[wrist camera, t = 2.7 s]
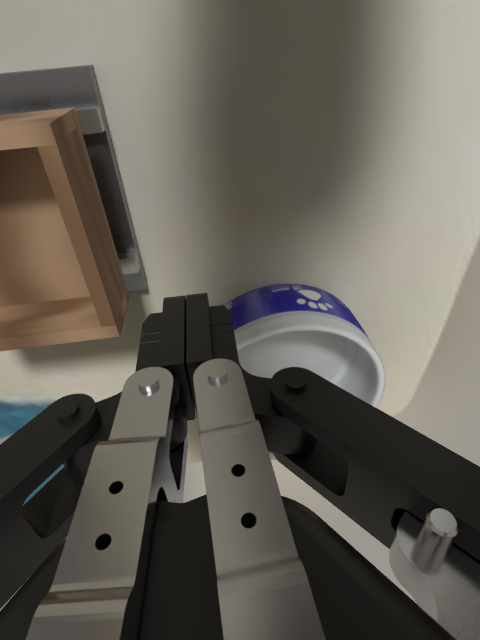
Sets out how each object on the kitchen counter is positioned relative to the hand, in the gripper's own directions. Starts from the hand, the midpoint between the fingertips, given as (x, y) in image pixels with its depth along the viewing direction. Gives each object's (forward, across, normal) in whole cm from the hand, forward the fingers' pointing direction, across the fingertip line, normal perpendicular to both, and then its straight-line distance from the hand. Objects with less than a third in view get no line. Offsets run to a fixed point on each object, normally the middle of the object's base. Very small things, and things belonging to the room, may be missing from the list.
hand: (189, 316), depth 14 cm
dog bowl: (+16, -6, +16) cm, 23 cm away
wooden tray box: (+13, +10, 0) cm, 17 cm away
